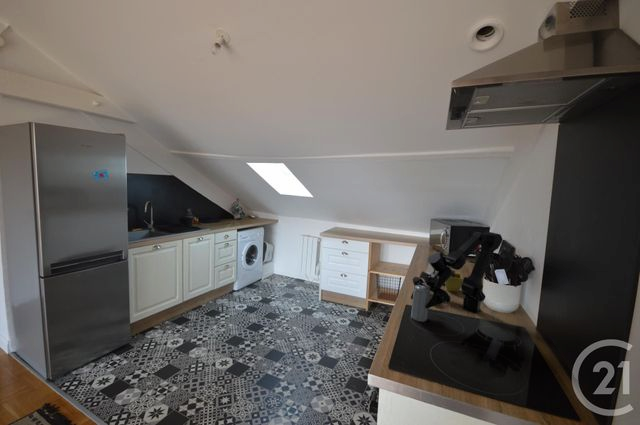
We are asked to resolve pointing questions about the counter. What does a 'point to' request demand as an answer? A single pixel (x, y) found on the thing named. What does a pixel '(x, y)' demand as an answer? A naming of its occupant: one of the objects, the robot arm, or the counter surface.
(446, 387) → the counter surface
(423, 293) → the tumbler
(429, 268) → the wineglass
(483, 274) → the robot arm
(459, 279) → the flower pot
